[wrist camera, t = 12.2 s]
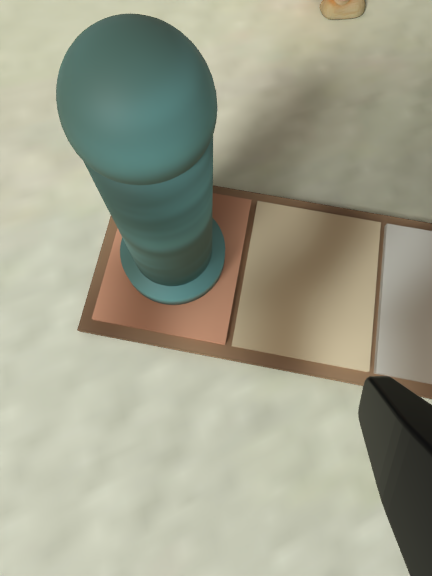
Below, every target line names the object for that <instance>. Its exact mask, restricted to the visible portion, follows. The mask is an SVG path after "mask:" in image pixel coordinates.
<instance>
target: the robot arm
mask: <svg viewBox="0 0 432 576" xmlns="http://www.w3.org/2000/svg"><path fill="white" fill-rule="evenodd" d="M358 414H359V422H360V426H361V429H362V433H363V437H364V440H365V444H366V448H367V451H368V455H369V459H370V462H371V466H372V469H373V473H374V477H375V480H376V484H377V488H378V491H379V494H380V498H381V501H382V504H383V507H384V509H385V512H386V515H387V517H388V520H389V523H390V525H391V528H392V530H393V533H394V535H395V538H396V540H397V543H398V546H399V548H400V551H401V553H402V556H403V558H404V561H405V563H406V566H407V569H408V571H409V574H410V576H432V405H431V404H429V403H428V402H427V401H425V400H424V399H422V398H421V397H419V396H418V395H416V394H415V393H413V392H412V391H411V390H409V389H408V388H406V387H405V386H403V385H402V384H400V383H399V382H398V381H396V380H395V379H393V378H391V377H389V376H369V377H367V378H366V380H365V382H364V386H363V390H362V395H361V400H360V405H359V412H358Z"/></svg>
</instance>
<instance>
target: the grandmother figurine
mask: <svg viewBox="0 0 432 576" xmlns="http://www.w3.org/2000/svg"><path fill="white" fill-rule="evenodd" d="M320 10H321V12H322V14H323V15H324V16H325V17H326V18H328V19H349V18H356V17H359V16H360V15H362V14H363V12H364V10H365V0H323V1H322V2H321V4H320Z"/></svg>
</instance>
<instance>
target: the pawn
mask: <svg viewBox="0 0 432 576" xmlns="http://www.w3.org/2000/svg"><path fill="white" fill-rule="evenodd" d="M56 101H57V109H58V114H59V118H60V122H61V125H62V128H63V130H64V132H65V135H66V137H67V139H68V141H69V142H70V144H71V145H72V147H73V148H74V150H75V151H76V153H77V154H78V155H79V156H80V158H81V159H82V160H83V161H84V163H85V165H86V167H87V169H88V171H89V173H90V175H91V177H92V179H93V181H94V183H95V185H96V187H97V189H98V191H99V192H100V194H101V196H102V198H103V200H104V202H105V204H106V206H107V208H108V210H109V212H110V214H111V216H112V218H113V220H114V222H115V224H116V226H117V228H118V230H119V232H120V234H121V236H122V240H121V245H120V258H121V263H122V267H123V269H124V271H125V273H126V275H127V277H128V278H129V280H130V282H131V283H132V285H133V286H134V287H135V288H136V290H137V291H138V292H140V293H141V294H142V295H143V296H145V297H146V298H148V299H150V300H152V301H154V302H157V303H161V304H166V305H181V304H186V303H189V302H192V301H195V300H197V299H199V298H201V297H202V296H204V295H205V294H206V293H208V292H209V291H210V290H211V289H212V288H213V287H214V286H215V284H216V283H217V281H218V280H219V278H220V276H221V273H222V270H223V267H224V261H225V241H224V236H223V234H222V231H221V229H220V227H219V225H218V224H217V222H216V221H215V220H214V219H213V218H212V206H213V133H214V129H215V124H216V117H217V98H216V90H215V86H214V82H213V78H212V75H211V73H210V70H209V68H208V66H207V63H206V61H205V60H204V58H203V56H202V55H201V53H200V52H199V50H198V49H197V48H196V46H195V45H194V44H193V43H192V42H191V41H190V40H189V39H188V38H187V37H186V36H185V35H184V34H183V33H182V32H180V31H179V30H178V29H176V28H175V27H173V26H171V25H170V24H168V23H166V22H164V21H162V20H160V19H157V18H154V17H150V16H146V15H140V14H120V15H115V16H111V17H107V18H105V19H102V20H100V21H98V22H96V23H95V24H93V25H91V26H90V27H88V28H87V29H86V30H84V31H83V32H82V33H81V34H80V35H79V36H78V37H77V38H76V39H75V41H74V42H73V43H72V45H71V46H70V47H69V49H68V51H67V52H66V54H65V56H64V59H63V61H62V64H61V67H60V69H59V74H58V79H57V87H56Z"/></svg>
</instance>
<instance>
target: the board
mask: <svg viewBox="0 0 432 576" xmlns="http://www.w3.org/2000/svg"><path fill="white" fill-rule="evenodd" d="M212 218H213V219H214V220H215V221H216V222H217V224H218V225H219V227H220V229H221V231H222V234H223V236H224V241H225V261H224V267H223V270H222V273H221V276H220V278H219V280H218V281H217V283H216V284H215V286H214V287H213V288H212V289H211V290H210V291H209V292H208V293H206V294H205V295H204V296H202V297H201V298H199V299H197V300H195V301H192V302H189V303H186V304H181V305H166V304H161V303H157V302H154V301H152V300H150V299H148V298H146V297H145V296H143V295H142V294H141V293H140V292H138V291H137V290H136V288H135V287H134V286H133V285H132V283H131V282H130V280H129V278H128V277H127V275H126V273H125V271H124V269H123V267H122V263H121V258H120V245H121V240H122V236H121V234H120V232H119V230H118V228H117V226H116V224H115V222H114V220H113V218H112V216H111V217H110V220H109V224H108V227H107V231H106V234H105V237H104V241H103V244H102V248H101V251H100V254H99V258H98V261H97V265H96V268H95V272H94V275H93V278H92V282H91V285H90V289H89V292H88V295H87V299H86V302H85V306H84V309H83V312H82V316H81V319H80V323H79V326H78V329H77V330H78V331H80V332H86V333H91V334H96V335H101V336H106V337H112V338H117V339H122V340H127V341H132V342H138V343H143V344H148V345H153V346H158V347H164V348H169V349H174V350H179V351H185V352H190V353H195V354H200V355H205V356H211V357H216V358H221V359H226V360H231V361H237V362H242V363H247V364H252V365H257V366H263V367H268V368H273V369H278V370H283V371H289V372H294V373H299V374H304V375H309V376H315V377H320V378H325V379H330V380H335V381H341V382H346V383H351V384H356V385H361V386H364V382H365V380H366V378H367V377H369V376H389V377H391V378H393V379H395V380H396V381H398V382H399V383H400V384H402V385H403V386H405V387H406V388H408V389H409V390H411V391H412V392H413V393H415V394H416V395H418V396H419V397H424V398H429V399H432V223H426V222H420V221H415V220H409V219H403V218H397V217H392V216H386V215H380V214H374V213H368V212H363V211H357V210H351V209H345V208H340V207H334V206H328V205H322V204H317V203H311V202H305V201H299V200H294V199H288V198H282V197H276V196H271V195H265V194H259V193H253V192H247V191H242V190H236V189H230V188H224V187H219V186H213V206H212Z"/></svg>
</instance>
